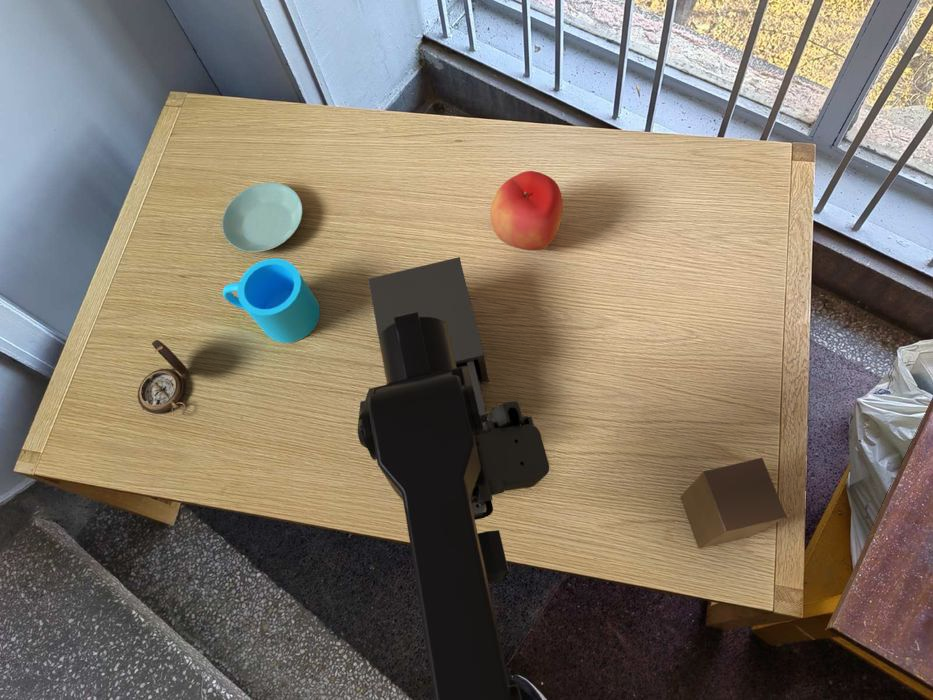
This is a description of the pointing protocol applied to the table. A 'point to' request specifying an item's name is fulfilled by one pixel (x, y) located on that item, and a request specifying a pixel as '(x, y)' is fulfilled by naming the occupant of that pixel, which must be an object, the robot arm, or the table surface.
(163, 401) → the compass
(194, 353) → the table surface
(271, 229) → the saucer
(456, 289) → the drawer cabinet
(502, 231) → the apple
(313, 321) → the mug
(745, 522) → the stand
